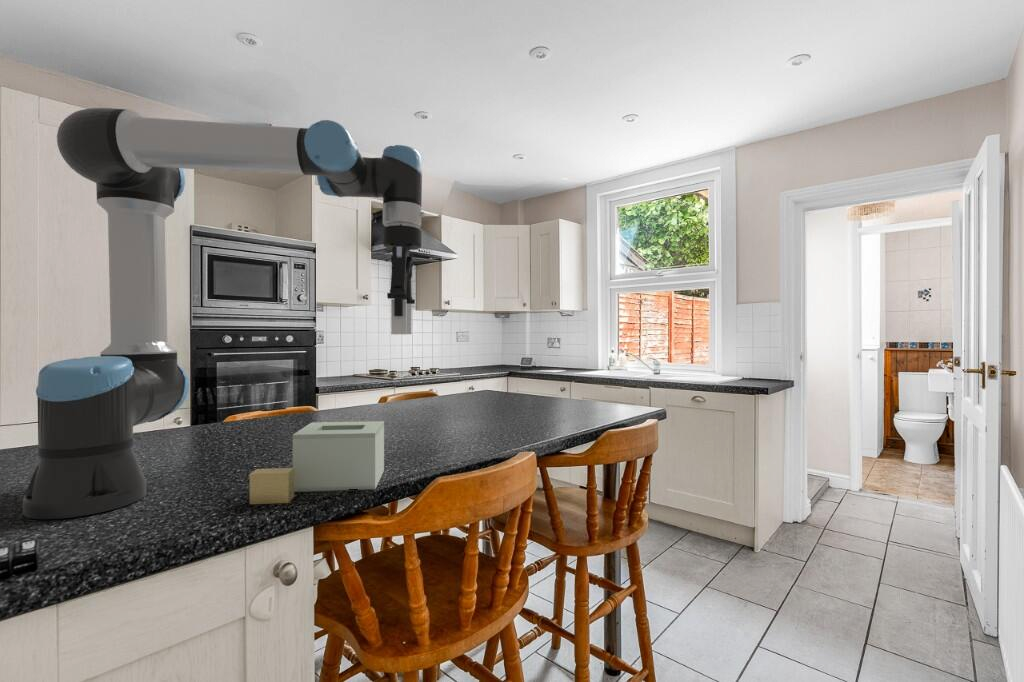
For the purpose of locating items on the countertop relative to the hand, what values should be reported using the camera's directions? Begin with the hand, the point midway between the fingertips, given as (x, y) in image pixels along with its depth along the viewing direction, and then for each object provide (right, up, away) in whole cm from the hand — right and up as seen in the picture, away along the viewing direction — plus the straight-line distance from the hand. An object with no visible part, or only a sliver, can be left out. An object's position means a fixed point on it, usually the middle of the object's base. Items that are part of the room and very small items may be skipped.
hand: (402, 334), depth 99 cm
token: (-18, -28, -17) cm, 37 cm away
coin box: (-10, -28, -6) cm, 30 cm away
